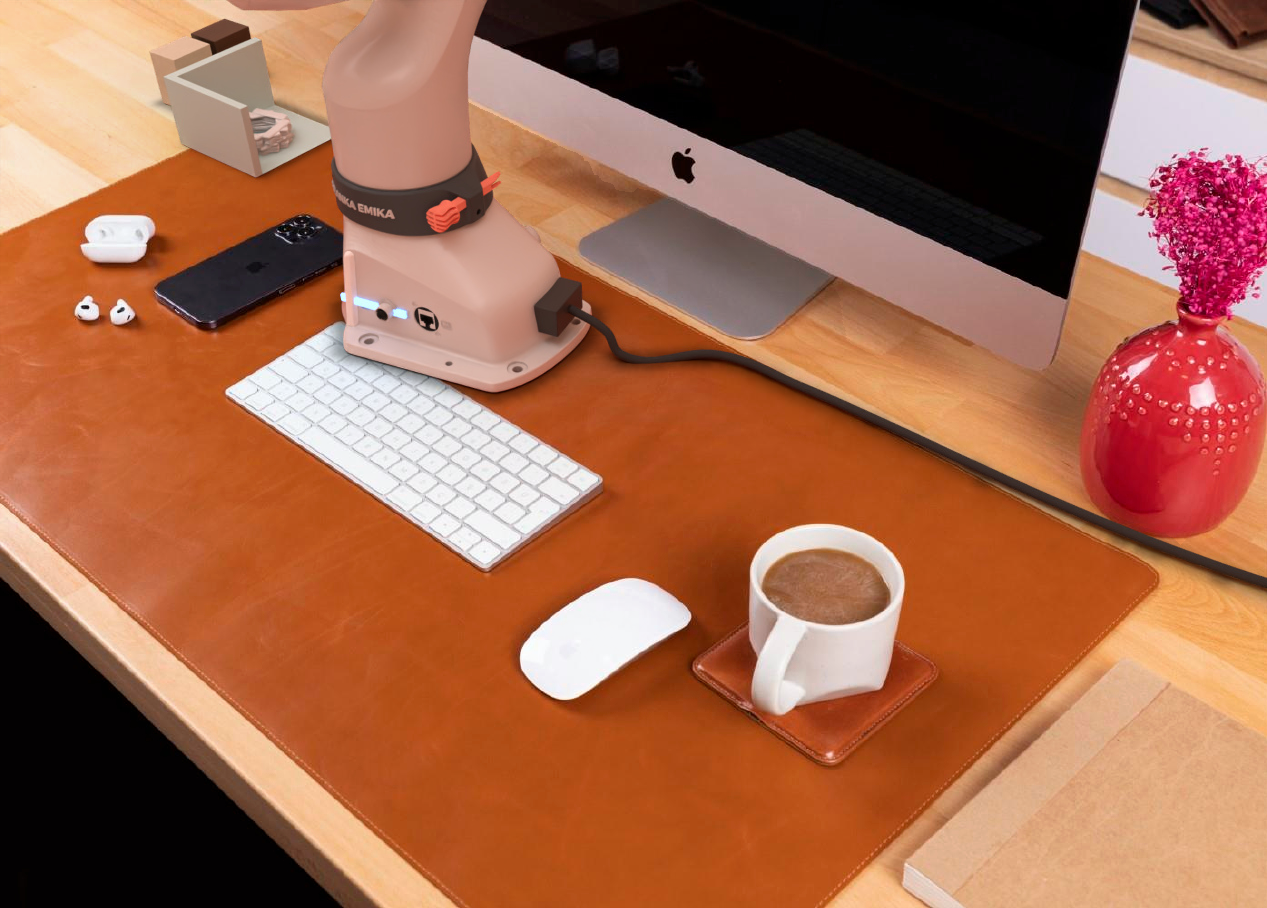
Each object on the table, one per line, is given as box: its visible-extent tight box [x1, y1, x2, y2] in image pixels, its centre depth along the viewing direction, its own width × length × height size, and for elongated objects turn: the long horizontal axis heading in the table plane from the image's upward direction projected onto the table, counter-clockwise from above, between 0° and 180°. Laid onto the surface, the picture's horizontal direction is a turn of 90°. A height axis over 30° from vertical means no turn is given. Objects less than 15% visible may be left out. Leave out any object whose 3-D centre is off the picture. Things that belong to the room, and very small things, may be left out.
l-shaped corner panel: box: [163, 36, 331, 178], centre depth 133 cm, size 12×12×8 cm
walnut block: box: [190, 18, 252, 56], centre depth 144 cm, size 4×5×6 cm
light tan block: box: [149, 35, 212, 107], centre depth 140 cm, size 4×5×6 cm
